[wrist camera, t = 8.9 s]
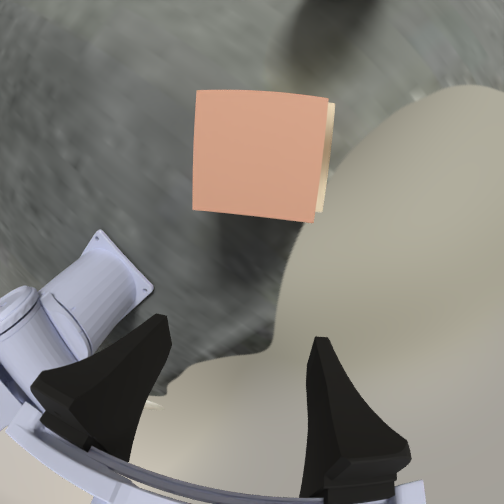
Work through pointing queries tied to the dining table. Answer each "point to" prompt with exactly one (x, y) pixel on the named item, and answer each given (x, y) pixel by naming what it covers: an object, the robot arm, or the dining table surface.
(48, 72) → the dining table surface
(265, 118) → the terracotta cube
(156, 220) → the dining table surface
